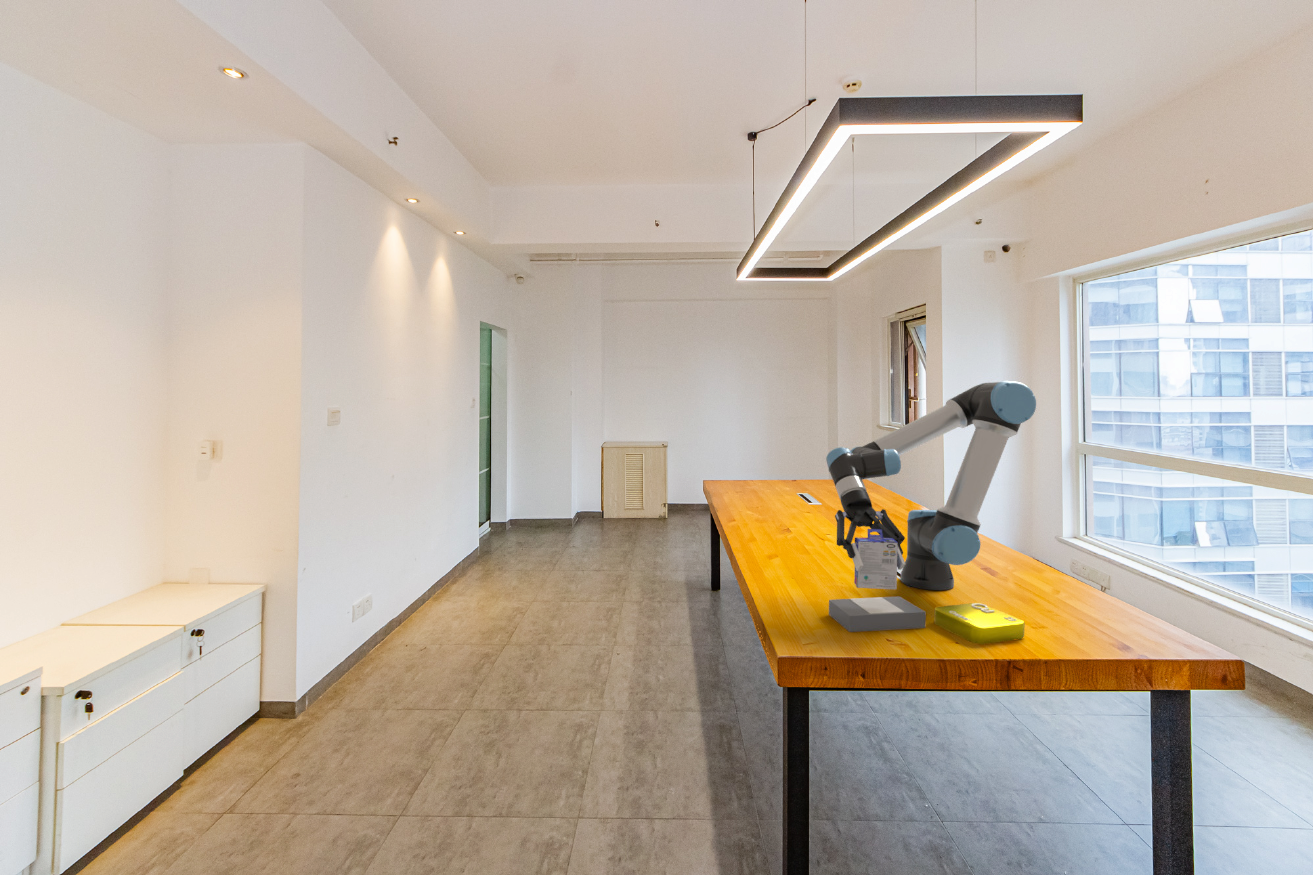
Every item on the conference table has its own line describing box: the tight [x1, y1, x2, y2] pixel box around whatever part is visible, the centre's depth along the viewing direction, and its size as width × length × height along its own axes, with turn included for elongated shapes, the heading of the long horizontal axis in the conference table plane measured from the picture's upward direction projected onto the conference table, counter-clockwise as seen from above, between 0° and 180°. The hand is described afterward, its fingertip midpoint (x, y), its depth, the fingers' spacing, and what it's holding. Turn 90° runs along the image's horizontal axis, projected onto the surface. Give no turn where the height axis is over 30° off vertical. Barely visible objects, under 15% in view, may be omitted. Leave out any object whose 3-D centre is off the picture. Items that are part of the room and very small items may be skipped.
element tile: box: [933, 602, 1026, 645], centre depth 144 cm, size 15×15×5 cm
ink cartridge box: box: [853, 528, 898, 590], centre depth 149 cm, size 10×6×14 cm, turn 82°
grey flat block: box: [828, 596, 927, 633], centre depth 150 cm, size 20×12×4 cm, turn 98°
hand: (881, 567), depth 147 cm, fingers closed on ink cartridge box, 10 cm apart
